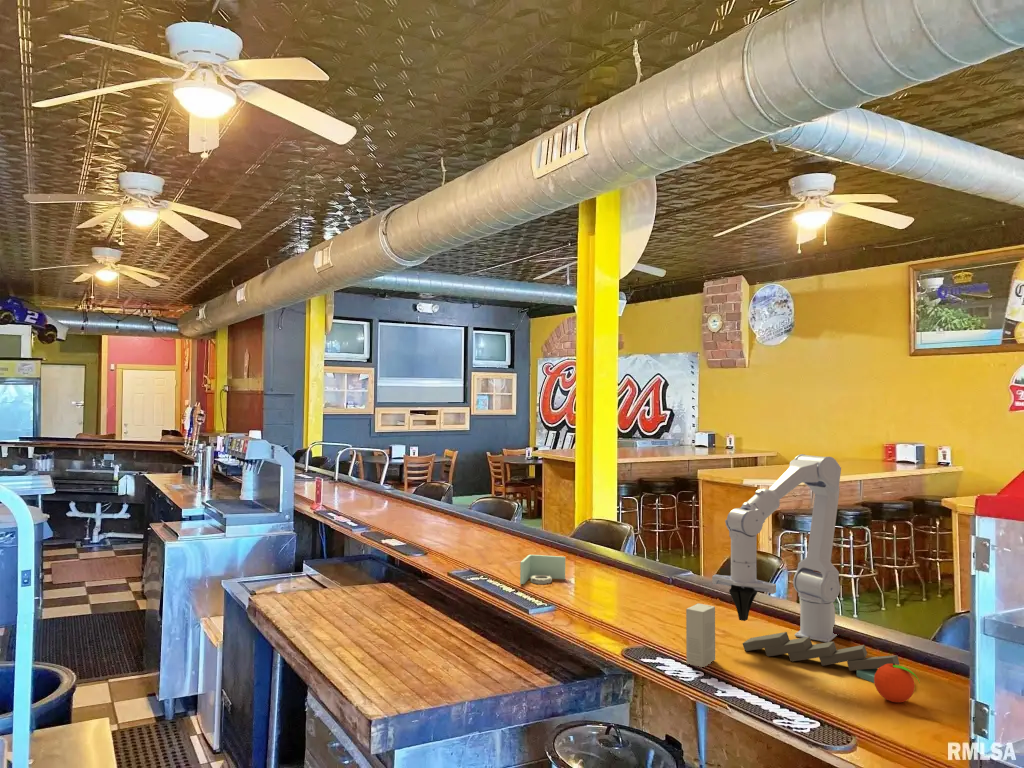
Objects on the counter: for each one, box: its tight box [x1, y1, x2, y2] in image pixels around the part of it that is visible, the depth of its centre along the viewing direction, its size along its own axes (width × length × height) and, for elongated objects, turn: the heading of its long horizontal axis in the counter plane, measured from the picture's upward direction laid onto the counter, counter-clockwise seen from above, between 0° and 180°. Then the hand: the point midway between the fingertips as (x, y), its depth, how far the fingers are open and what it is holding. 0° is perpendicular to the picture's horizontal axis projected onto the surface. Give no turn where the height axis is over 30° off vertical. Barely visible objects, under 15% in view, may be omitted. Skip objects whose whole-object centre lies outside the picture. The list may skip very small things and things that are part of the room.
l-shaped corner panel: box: [519, 554, 566, 585], centre depth 234 cm, size 12×12×8 cm
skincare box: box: [685, 603, 716, 668], centre depth 162 cm, size 6×4×12 cm
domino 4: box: [818, 644, 868, 667], centre depth 160 cm, size 2×5×9 cm
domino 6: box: [856, 668, 879, 684], centre depth 152 cm, size 2×5×9 cm
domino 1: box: [742, 631, 790, 652], centre depth 169 cm, size 2×5×9 cm
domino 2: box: [763, 637, 813, 657], centre depth 166 cm, size 2×5×9 cm
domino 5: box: [846, 654, 900, 671], centre depth 156 cm, size 2×5×9 cm
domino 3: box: [787, 641, 838, 662], centre depth 163 cm, size 2×5×9 cm
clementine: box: [874, 664, 921, 703], centre depth 142 cm, size 8×7×7 cm
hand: (743, 619), depth 173 cm, fingers closed
